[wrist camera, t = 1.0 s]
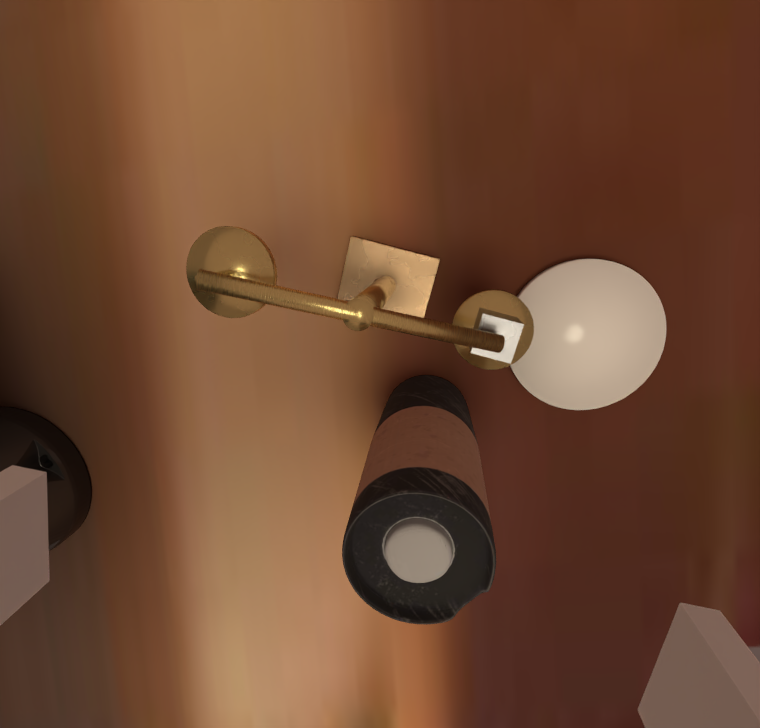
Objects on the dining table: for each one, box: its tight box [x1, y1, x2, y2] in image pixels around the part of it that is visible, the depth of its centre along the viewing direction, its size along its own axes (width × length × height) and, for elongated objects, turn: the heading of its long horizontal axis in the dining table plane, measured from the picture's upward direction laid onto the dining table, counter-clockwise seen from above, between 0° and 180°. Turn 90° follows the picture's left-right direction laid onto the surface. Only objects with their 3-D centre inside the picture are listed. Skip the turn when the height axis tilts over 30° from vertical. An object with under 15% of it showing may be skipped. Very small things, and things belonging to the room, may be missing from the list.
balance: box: [186, 226, 534, 370], centre depth 32 cm, size 20×6×18 cm, turn 76°
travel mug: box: [342, 375, 496, 624], centre depth 33 cm, size 8×8×20 cm
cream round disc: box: [510, 258, 666, 410], centre depth 39 cm, size 12×12×1 cm
